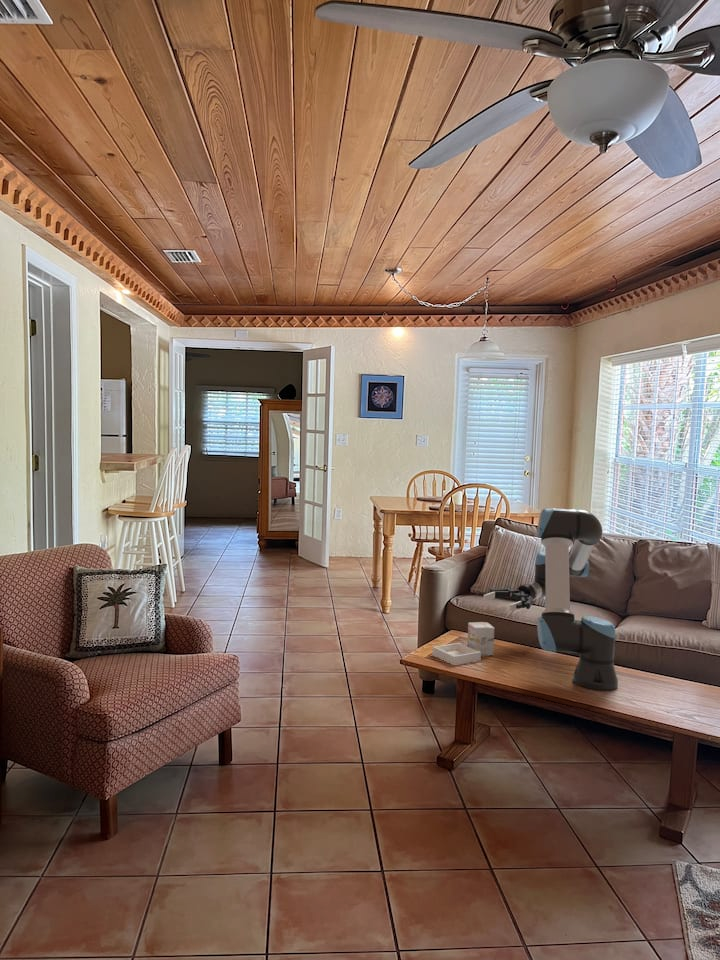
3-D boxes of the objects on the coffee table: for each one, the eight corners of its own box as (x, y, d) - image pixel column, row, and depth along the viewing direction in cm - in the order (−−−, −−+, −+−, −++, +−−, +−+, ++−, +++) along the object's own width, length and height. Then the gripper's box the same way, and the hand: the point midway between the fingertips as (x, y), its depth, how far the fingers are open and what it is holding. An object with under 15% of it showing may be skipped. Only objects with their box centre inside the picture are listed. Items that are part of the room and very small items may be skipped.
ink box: (466, 649, 271) (467, 621, 270) (485, 649, 272) (487, 621, 272) (473, 656, 262) (475, 627, 262) (493, 655, 264) (495, 627, 263)
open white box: (480, 660, 257) (481, 652, 257) (453, 665, 250) (454, 656, 250) (458, 651, 268) (459, 642, 268) (432, 655, 261) (432, 646, 261)
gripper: (553, 609, 273) (521, 621, 260) (505, 592, 292) (473, 602, 279) (554, 592, 272) (522, 603, 258) (506, 576, 291) (474, 585, 277)
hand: (496, 602), depth 269 cm, fingers open, 13 cm apart
